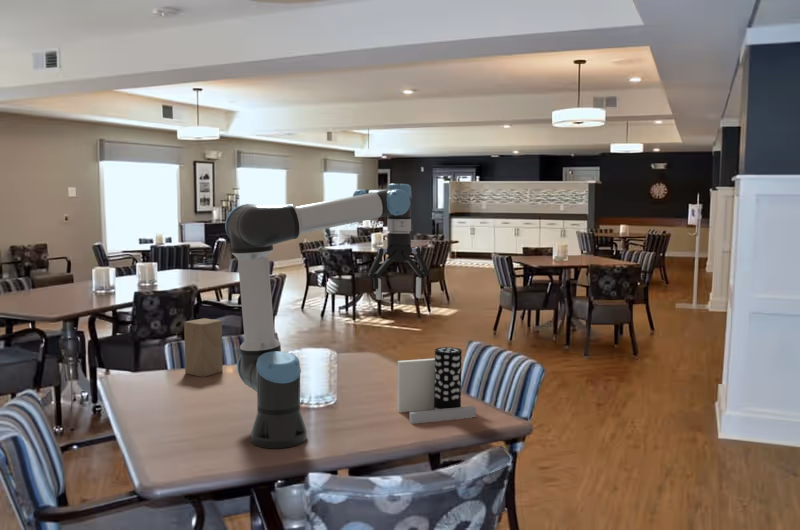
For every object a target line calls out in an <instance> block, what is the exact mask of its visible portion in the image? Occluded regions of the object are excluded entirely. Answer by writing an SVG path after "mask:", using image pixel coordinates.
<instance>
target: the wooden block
mask: <svg viewBox="0 0 800 530" xmlns="http://www.w3.org/2000/svg"><path fill="white" fill-rule="evenodd" d="M183 325H184V326H183V328H184V329H183V331H184V332H183V335H184V370H185V371H184V372H185V374H187V375H190V376H194V377H195V376H197V377H201V378H205V377H208V376H212V375H216V374H220V373H223V370H224V369H223V367H224V365H223V361H224V360H223V321H222V320H219V319H212V318H211V319H210V318H205V317H203V318H199V319H193V320H186V321H184V323H183Z"/></svg>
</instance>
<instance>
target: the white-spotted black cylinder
mask: <svg viewBox="0 0 800 530" xmlns="http://www.w3.org/2000/svg"><path fill="white" fill-rule="evenodd" d="M462 353H463V350H462V348H458V347H450V346H449V347H448V346H445V347H438V348H437V347H436V348H435V349H434V358H435V384H434V409H433V410H437V409H447V408H458V407H462V406H461V405H462V403H461V402H462V400H461V399H462V365H463V364H462V362H463V361H462V359H463V358H462V357H463V356H462V355H463V354H462Z"/></svg>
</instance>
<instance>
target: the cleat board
mask: <svg viewBox="0 0 800 530" xmlns="http://www.w3.org/2000/svg"><path fill="white" fill-rule="evenodd" d="M396 374H397V376H396V377H397V382H396V383H397V385H396V387H397V388H396V389H397V392H396V393H397V394H396V412H398V413H407V412H409V415H408V417H409V418H408V420H409V423H410V424H411V425H414V424H423V423H432V422H433V423H435V422H444V420H445V421H454V419H455V420H464V418H465V419H473V418H472V417H475V418H477V414H476V413H477V407H475V406H474V405H469V406H461V407H458V408H447V409H437V410H434V384H435V357H434V358H433V357H432V358H423V359H422V358H421V359H409V360H407V359H406V360H397V373H396Z"/></svg>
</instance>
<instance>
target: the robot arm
mask: <svg viewBox="0 0 800 530" xmlns="http://www.w3.org/2000/svg"><path fill="white" fill-rule="evenodd" d="M412 199H413V196H412V186H411V185H410V184H407V183H389V184H388V185H387V189H366V188H365V189H357V190H355V191H354V192H353V195H352V196H348V197H341V198H337V199H331V200H325V201H319V202H314V203H310V204H303V205H299V206H295V205H294V204H292V203H290V204H289V203H287V204H282V205H269V204H268V205H266V204H253V203H245V204H240V205H238V206H236V207H235V208H232V210H231V211H230V212H229V213H228V214H227V217H226V219H225V222H224V228H225V232H226V235H227V237H228V238H229V239H230V248H231V254H232V255H233V256H235V258H236V259H237V265H238V266H237V267H238V276H239V277H238V278H239V290H240V302H241V311H242V323H243V324H242V326H243V335H244V336H243V337H244V340H243V342H242V343H241V344H240V346H239V353H240V356H239V358H238V360H237V364H236V365H237V366H236V367H237V368H236V369H237V373H238V376H239V378H240V379H241V381H242V382H243V383H244V384H245V385H246V386H248V388H250V389H252V390H253V391H255V392H256V397H257V398H256V400H257V409H256V410H257V411H256V413H257V414H256V417H255V419H254V423H253V425H252V429H251V432H250V435H251V436H250V441H251V443H252V444H253V445H255V446H257V447H259V448H260V447H261V448H265V449H285V448H286V449H287V448H291V447H296V446H299V445H301V444H303V443H304V442H306V440H307V438H308V437H307V434H308V433H307V431H308V430H307V427H306V425H305V421H304V418H303V415H302V412H301V371H302V369H301V364H300V360H299V357H298V356H296V355H294V354H293V353H290V352H285V351H282V347H281V345H282V344H281V341H279V340H278V339H277V338H276V336H275V325H274V323H275V322H274V314H273V312H274V311H273V300H272V299H273V298H272V287H271V286H272V285H271V274H270V263H269V261H270V260H269V256H270V255H271V254H272V253H273V251H274V245H277V244H280V243H281V244H282V243H283V242H287V241H291V240H296V239H299V238H300V236H301V235H302V234H306V233H312V232H317V231H320V230H321V231H322V230H326V229H327V230H328V229H331V228H335V227H341V226H345V225H349V224H355V223H358V222H363V221H368V220H374V219H378V218H386V217H387V232H388V233H387V238H386V239H387V241H386V243H387V247H386V248H383V247H378V248H377V251H376V252H377V253H376V255H375V257H374V260H373V262H372V264H371V266H370V268H369V270H368V272H367V276H368V277H369V278H372V279H373V280H372V283H373V288H372V289H374V290H375V299H376V300H378V301H381V300H382V298H381V297H382V280H381V278H380V277H381V276H382V274H383V273H384V272H385V270H386V269H387V268H388V267H389V266H390V265H391V264H392V263H393V262H395V263H396V262H398V263H399V262H402V263H404V262H406V263H407V264H408V265H409V266H410V267H411V269H412V270H413V271H414V273H415V274H416V275H417V276H416V278H415V297H416V298H417V299H421V298H422V289H423V288H424V286H425V282H424V281H425V278H426V277H427V276H430V271H429V269H428V267H427V265H426V263H425V260H424V258H423V256H422V252H421V247H419V246H415V247H412V234H411V231H412ZM412 253H413V255H415V258H416V261H417V263H418V265H419V266H420V268H419V267H418V265H417V264H416V263H415V262H414V260H413V259H412V257H411V254H412ZM385 254H387V255H388V256H387V257H386V258H385V260H384V261H383V263H382V264H381V263H380V262H381V261H382V258H383V256H385ZM380 264H381V265H380ZM379 265H380V266H379ZM378 267H379V268H378Z"/></svg>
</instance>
